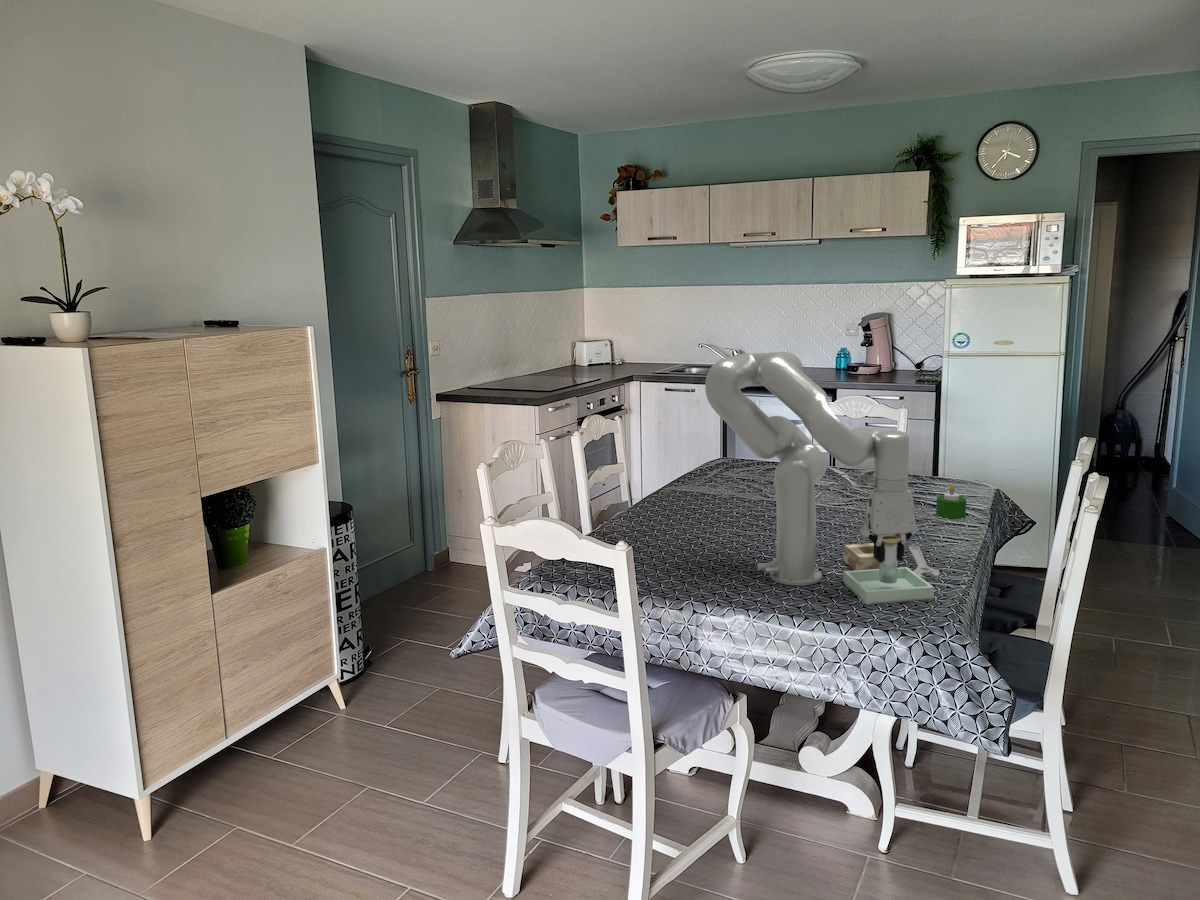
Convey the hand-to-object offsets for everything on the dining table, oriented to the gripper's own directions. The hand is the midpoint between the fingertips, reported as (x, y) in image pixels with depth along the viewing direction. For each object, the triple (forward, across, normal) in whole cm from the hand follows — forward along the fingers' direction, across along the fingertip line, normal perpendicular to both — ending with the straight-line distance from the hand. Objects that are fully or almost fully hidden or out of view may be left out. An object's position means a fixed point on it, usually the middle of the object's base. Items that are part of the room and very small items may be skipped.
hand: (888, 559), depth 206 cm
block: (+8, +3, +17) cm, 19 cm away
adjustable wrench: (+9, +16, +16) cm, 24 cm away
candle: (+8, +44, +55) cm, 71 cm away
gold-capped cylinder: (+5, 0, 0) cm, 5 cm away
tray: (+8, 0, 0) cm, 8 cm away
